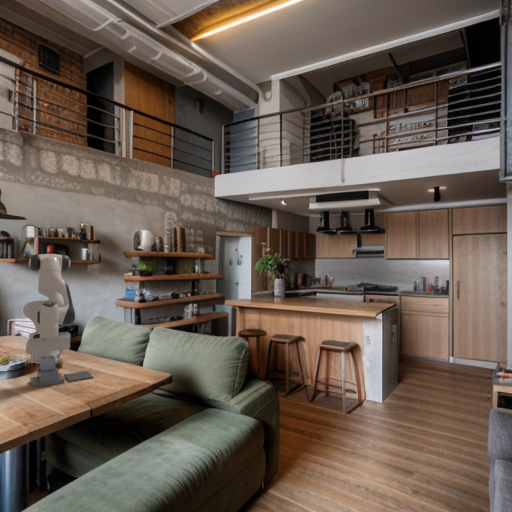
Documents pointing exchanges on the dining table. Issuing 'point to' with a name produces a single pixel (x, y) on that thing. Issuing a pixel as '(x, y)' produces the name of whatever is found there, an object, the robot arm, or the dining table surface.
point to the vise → (46, 377)
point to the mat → (78, 376)
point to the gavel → (59, 364)
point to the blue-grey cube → (47, 363)
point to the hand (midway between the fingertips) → (48, 359)
